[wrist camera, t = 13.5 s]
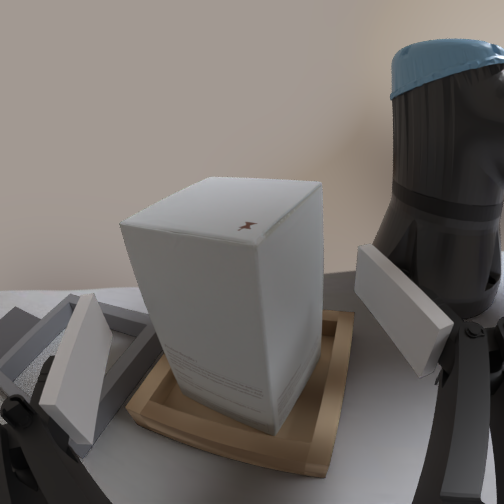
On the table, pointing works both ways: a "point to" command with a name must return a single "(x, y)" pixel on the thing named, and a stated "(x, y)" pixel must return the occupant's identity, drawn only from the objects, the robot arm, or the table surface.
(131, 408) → the wooden square tray
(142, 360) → the tray
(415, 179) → the robot arm
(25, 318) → the pad
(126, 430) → the table surface
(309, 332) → the supplement box
